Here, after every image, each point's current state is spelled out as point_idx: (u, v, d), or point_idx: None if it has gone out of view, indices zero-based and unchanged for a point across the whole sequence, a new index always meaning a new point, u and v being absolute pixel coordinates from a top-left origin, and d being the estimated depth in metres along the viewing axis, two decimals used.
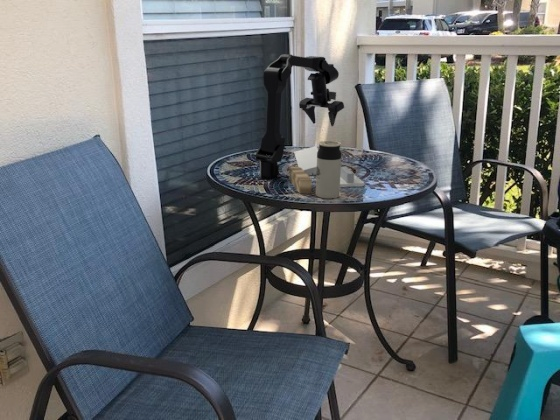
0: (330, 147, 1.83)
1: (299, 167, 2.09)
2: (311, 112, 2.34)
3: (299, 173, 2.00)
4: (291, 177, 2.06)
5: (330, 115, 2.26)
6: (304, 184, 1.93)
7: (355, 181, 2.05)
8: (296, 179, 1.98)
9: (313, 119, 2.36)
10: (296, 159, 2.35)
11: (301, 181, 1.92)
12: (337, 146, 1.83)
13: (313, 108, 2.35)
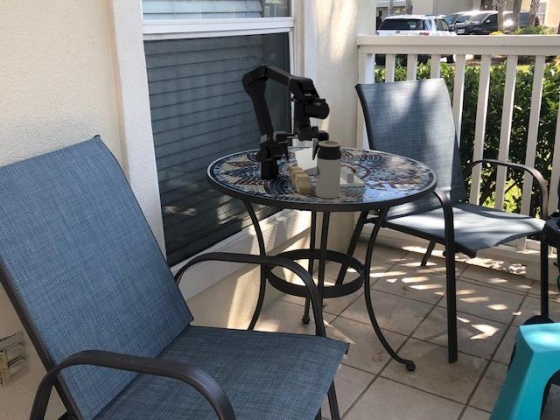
0: (330, 147, 1.83)
1: (299, 167, 2.09)
2: (314, 145, 1.99)
3: (299, 173, 2.00)
4: (291, 177, 2.06)
5: None
6: (304, 184, 1.93)
7: (355, 181, 2.05)
8: (296, 179, 1.98)
9: (312, 154, 2.00)
10: (297, 159, 2.35)
11: (301, 181, 1.92)
12: (337, 146, 1.83)
13: (315, 143, 1.97)
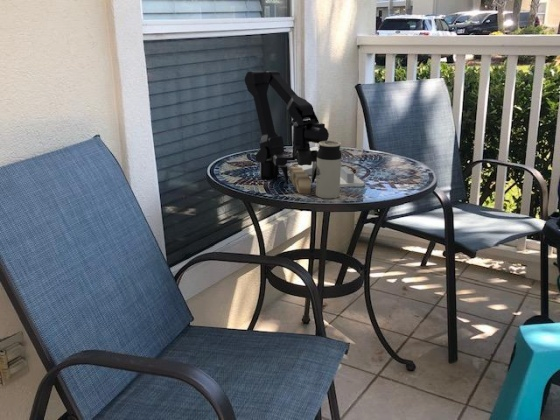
0: (330, 147, 1.83)
1: (300, 167, 2.09)
2: (313, 168, 2.02)
3: (299, 173, 2.00)
4: (291, 177, 2.06)
5: None
6: (303, 184, 1.93)
7: (355, 181, 2.05)
8: (296, 179, 1.98)
9: (312, 177, 2.03)
10: None
11: (300, 181, 1.92)
12: (337, 146, 1.83)
13: (315, 166, 2.00)
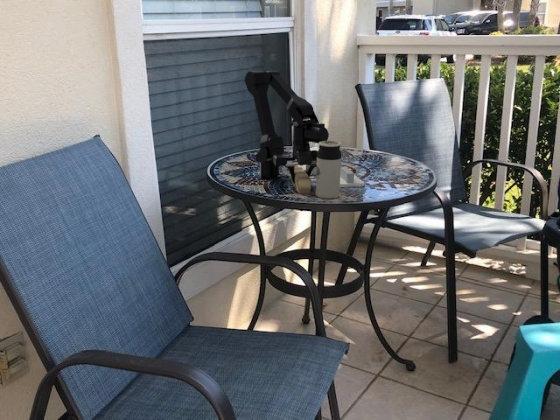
0: (330, 147, 1.83)
1: (300, 167, 2.09)
2: (306, 168, 2.01)
3: (299, 173, 2.00)
4: None
5: None
6: (303, 184, 1.93)
7: (355, 181, 2.05)
8: (296, 179, 1.98)
9: None
10: None
11: (300, 181, 1.92)
12: (337, 146, 1.83)
13: (308, 167, 1.99)
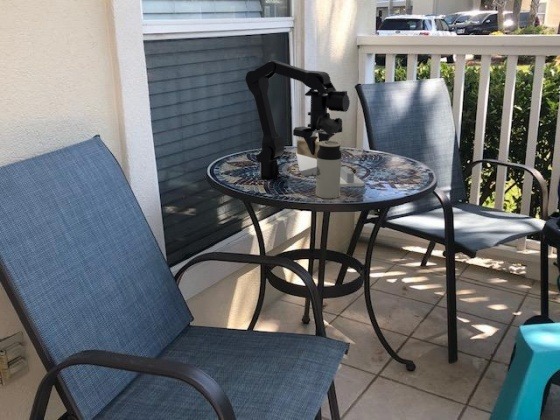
0: (330, 147, 1.83)
1: None
2: (321, 138, 2.01)
3: (317, 143, 1.99)
4: (303, 149, 2.03)
5: None
6: None
7: (355, 181, 2.05)
8: None
9: None
10: (297, 159, 2.35)
11: None
12: (337, 146, 1.83)
13: (325, 136, 1.99)
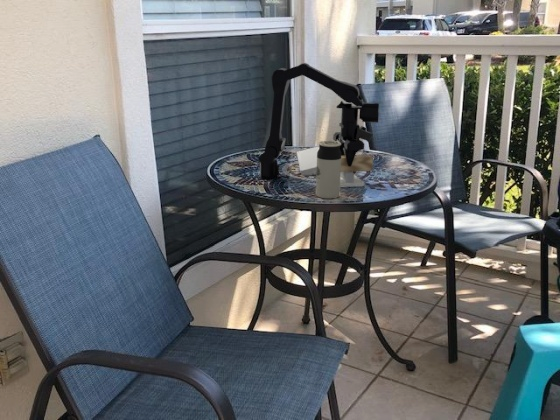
0: (330, 147, 1.83)
1: None
2: (343, 148, 2.08)
3: None
4: None
5: (344, 151, 2.00)
6: None
7: (355, 181, 2.05)
8: (357, 161, 2.04)
9: None
10: (298, 159, 2.35)
11: None
12: (337, 146, 1.83)
13: None
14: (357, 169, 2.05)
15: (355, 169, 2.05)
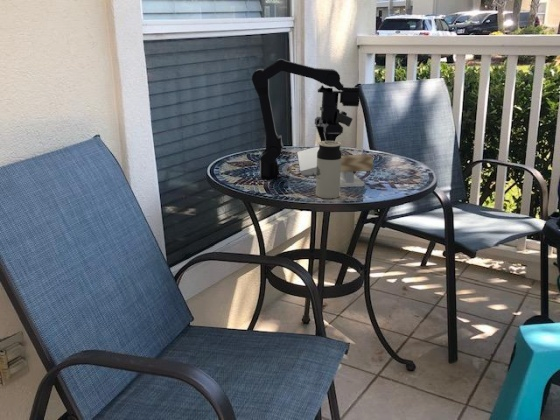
0: (330, 147, 1.83)
1: None
2: (322, 132, 2.12)
3: (348, 156, 2.05)
4: None
5: (324, 135, 2.02)
6: None
7: (355, 181, 2.05)
8: (357, 161, 2.04)
9: (323, 140, 2.13)
10: (298, 159, 2.35)
11: None
12: (337, 146, 1.83)
13: None
14: (357, 169, 2.05)
15: (355, 169, 2.05)
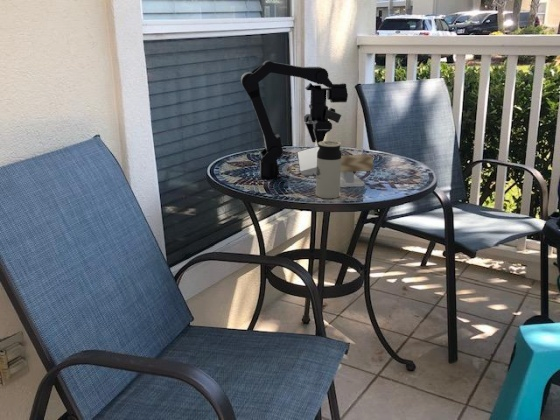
0: (330, 147, 1.83)
1: None
2: (312, 129, 2.15)
3: (348, 156, 2.05)
4: None
5: (314, 132, 2.04)
6: None
7: (355, 181, 2.05)
8: (357, 161, 2.04)
9: (312, 137, 2.16)
10: (299, 159, 2.35)
11: None
12: (337, 146, 1.83)
13: None
14: (357, 169, 2.05)
15: (355, 169, 2.05)
